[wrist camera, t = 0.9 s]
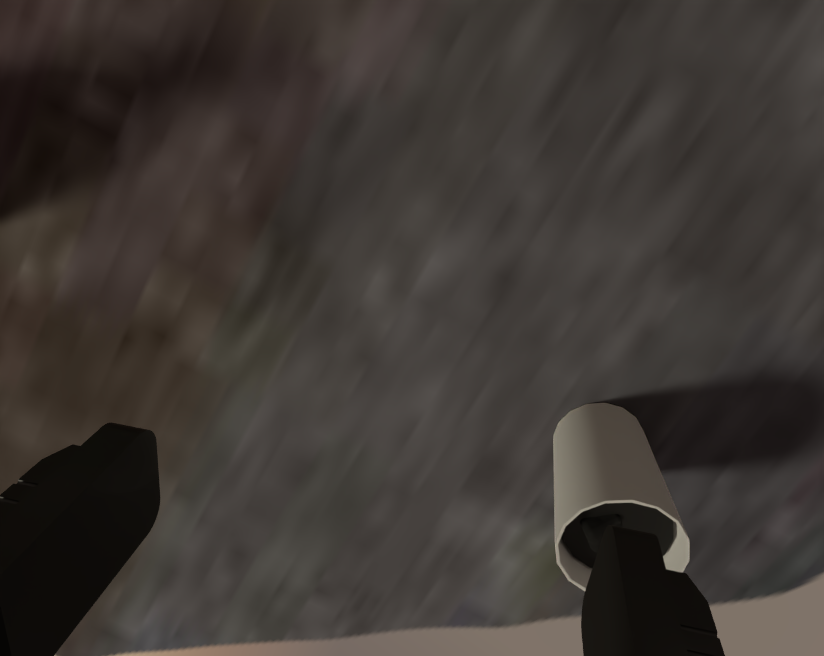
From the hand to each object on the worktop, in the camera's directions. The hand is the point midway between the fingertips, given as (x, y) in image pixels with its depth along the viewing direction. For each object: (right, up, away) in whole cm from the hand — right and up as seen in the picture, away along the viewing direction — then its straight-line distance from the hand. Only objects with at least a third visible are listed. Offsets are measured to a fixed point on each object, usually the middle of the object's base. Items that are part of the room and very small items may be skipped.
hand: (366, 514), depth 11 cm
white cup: (+13, -4, +30) cm, 33 cm away
